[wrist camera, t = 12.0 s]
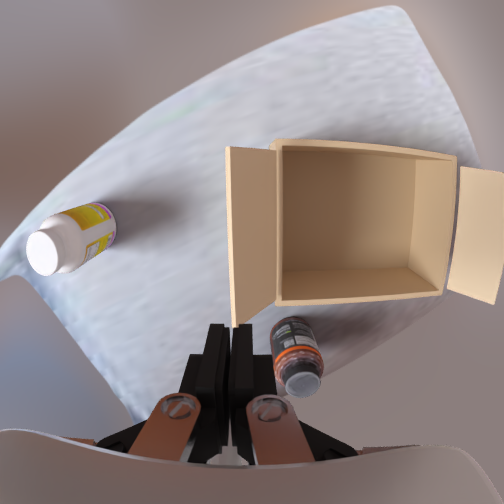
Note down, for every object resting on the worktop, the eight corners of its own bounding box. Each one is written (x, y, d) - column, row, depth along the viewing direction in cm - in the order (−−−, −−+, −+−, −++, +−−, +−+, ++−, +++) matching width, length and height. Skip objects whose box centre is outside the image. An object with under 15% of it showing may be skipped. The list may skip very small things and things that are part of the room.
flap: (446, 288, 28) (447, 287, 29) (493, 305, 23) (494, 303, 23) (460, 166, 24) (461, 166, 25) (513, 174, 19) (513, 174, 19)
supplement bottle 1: (74, 205, 35) (14, 224, 23) (114, 199, 35) (58, 216, 23) (82, 251, 37) (28, 285, 25) (121, 248, 37) (72, 284, 25)
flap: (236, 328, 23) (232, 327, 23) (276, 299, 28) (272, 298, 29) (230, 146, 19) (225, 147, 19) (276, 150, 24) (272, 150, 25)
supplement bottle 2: (293, 357, 42) (304, 411, 31) (260, 338, 41) (264, 392, 30) (320, 328, 40) (339, 379, 29) (287, 307, 39) (300, 357, 28)
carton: (408, 269, 38) (441, 294, 29) (269, 274, 38) (275, 306, 29) (417, 155, 33) (456, 156, 25) (269, 145, 33) (275, 138, 25)
